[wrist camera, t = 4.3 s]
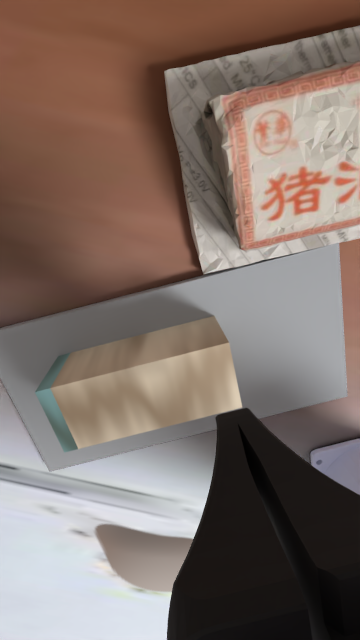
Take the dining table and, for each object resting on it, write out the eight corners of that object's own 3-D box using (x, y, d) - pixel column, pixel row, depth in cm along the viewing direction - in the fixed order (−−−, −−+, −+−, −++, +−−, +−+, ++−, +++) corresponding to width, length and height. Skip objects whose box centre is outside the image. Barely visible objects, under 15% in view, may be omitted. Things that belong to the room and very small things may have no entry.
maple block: (242, 407, 17) (64, 452, 17) (226, 370, 20) (80, 407, 20) (229, 342, 15) (34, 392, 15) (214, 315, 19) (58, 356, 19)
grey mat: (342, 391, 22) (347, 396, 22) (52, 465, 23) (49, 471, 22) (333, 241, 19) (338, 242, 18) (-17, 332, 19) (-22, 336, 18)
